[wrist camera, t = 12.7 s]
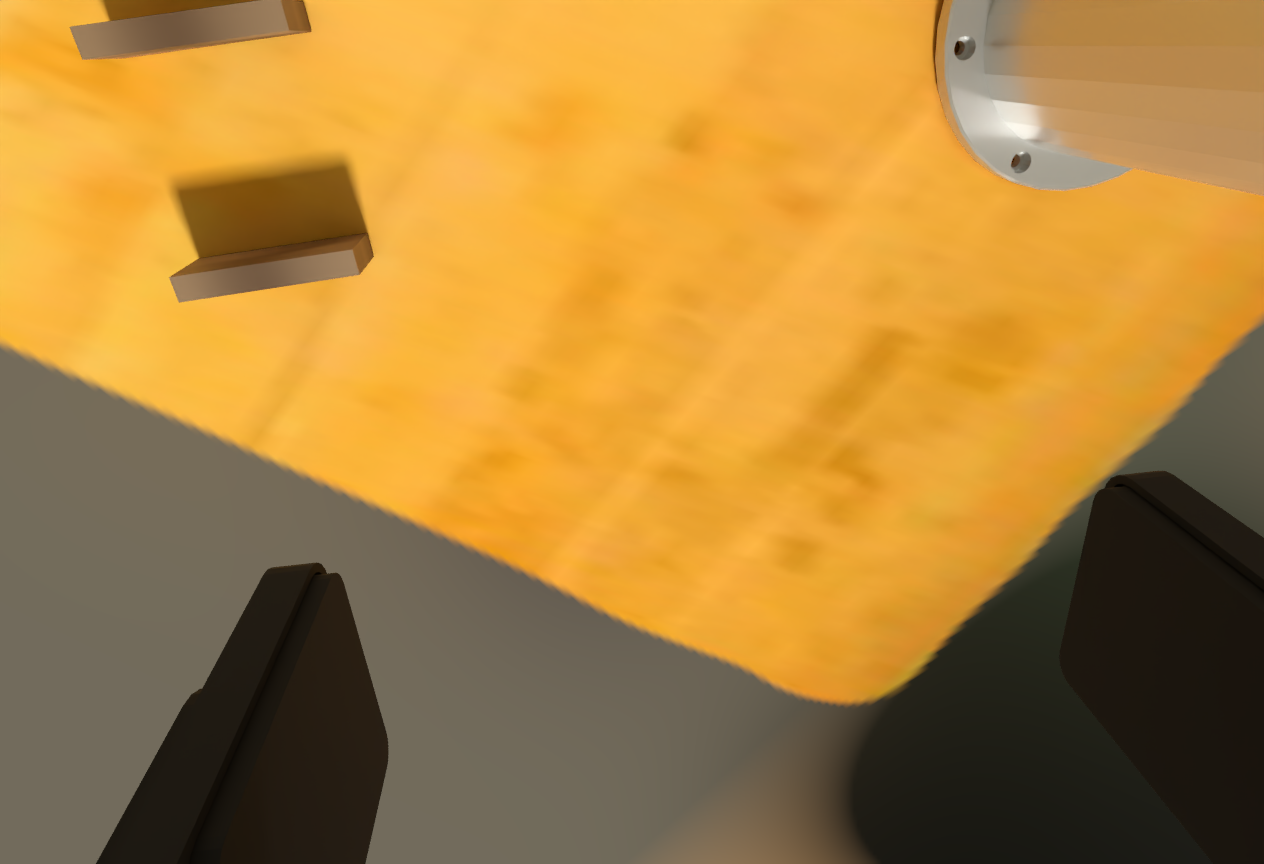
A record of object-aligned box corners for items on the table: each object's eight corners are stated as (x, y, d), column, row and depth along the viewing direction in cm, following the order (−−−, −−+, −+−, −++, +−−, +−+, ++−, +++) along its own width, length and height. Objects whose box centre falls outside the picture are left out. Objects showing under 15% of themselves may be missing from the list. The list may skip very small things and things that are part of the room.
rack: (303, 1, 30) (279, -3, 27) (373, 256, 34) (359, 274, 31) (112, 28, 29) (69, 26, 27) (207, 281, 34) (179, 302, 31)
